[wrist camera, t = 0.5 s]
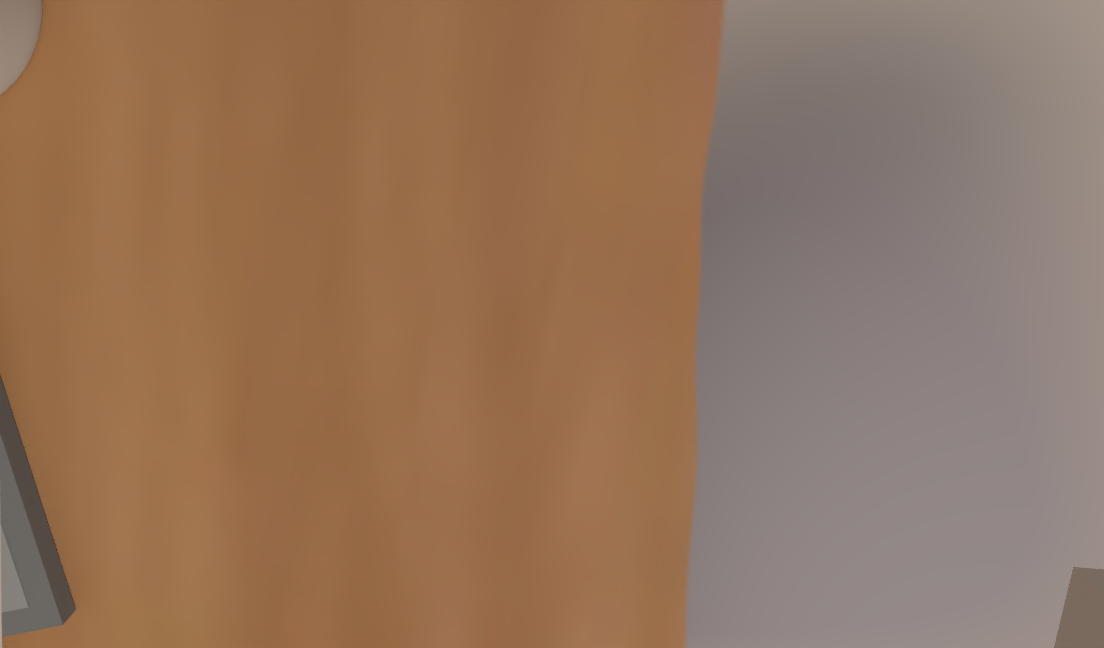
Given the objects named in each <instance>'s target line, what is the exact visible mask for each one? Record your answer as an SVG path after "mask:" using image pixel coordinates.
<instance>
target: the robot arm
mask: <svg viewBox="0 0 1104 648" xmlns="http://www.w3.org/2000/svg"><path fill="white" fill-rule="evenodd" d="M0 648H2V607H1V529H0ZM1054 648H1104V570H1102V569H1090V568H1078V567H1073V571H1072V575H1071V579H1070V584H1069V588H1068V592H1067V596H1066V600H1065V604H1064V609H1063V613H1062V617H1061V621H1060V625H1059V630H1058V634H1057V638H1056V642H1055V646H1054Z"/></svg>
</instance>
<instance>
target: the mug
mask: <svg viewBox="0 0 1104 648" xmlns="http://www.w3.org/2000/svg"><path fill="white" fill-rule="evenodd" d="M42 11H43V8H42V0H0V95H1V94H2V93H3V92H5V91H6V90H7V89H8V88H9V87H10V86H11V85H12V84H13V83H14V82H15V81H16V80H17V78H18V77H19V76H20V74H21V73H22V72H23V71H24V69H25V67H26V66H27V64H28V62H29V60H30V58H31V57H32V54H33V52H34V49H35V46H36V44H37V41H38V37H39V33H40V28H41V21H42Z"/></svg>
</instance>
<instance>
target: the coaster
mask: <svg viewBox="0 0 1104 648" xmlns="http://www.w3.org/2000/svg"><path fill="white" fill-rule="evenodd" d="M0 529H1V607H2V637H4V636H9V635H14V634H19V633H24V632H29V631H34V630H39V629H44V628H49V627H54V626H59V625H63V624H64V623H65V622H66V621H67V619H68V618H69V617H70V616H71V615H72V613H73V612H74V611H75V610H76V608H75V605H74V602H73V599H72V596H71V593H70V590H69V587H68V584H67V581H66V577H65V574H64V571H63V568H62V565H61V562H60V559H59V556H58V553H57V550H56V547H55V543H54V540H53V537H52V534H51V531H50V528H49V525H48V522H47V519H46V516H45V513H44V509H43V506H42V503H41V500H40V497H39V494H38V491H37V488H36V485H35V482H34V478H33V475H32V472H31V469H30V466H29V463H28V460H27V457H26V454H25V451H24V448H23V444H22V441H21V438H20V435H19V432H18V429H17V426H16V423H15V420H14V417H13V414H12V410H11V407H10V404H9V401H8V398H7V395H6V392H5V389H4V386H3V383H2V379H1V376H0Z"/></svg>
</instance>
